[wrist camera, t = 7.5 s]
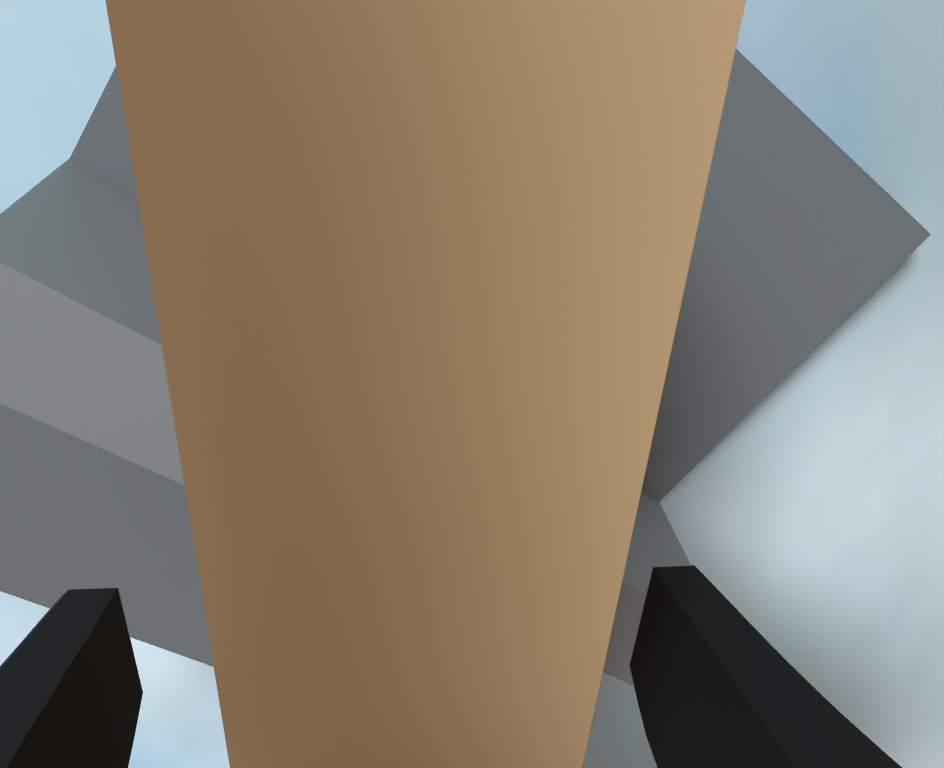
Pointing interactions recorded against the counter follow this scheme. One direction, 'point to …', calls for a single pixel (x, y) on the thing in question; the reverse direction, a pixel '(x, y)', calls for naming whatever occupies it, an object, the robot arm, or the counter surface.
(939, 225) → the counter surface
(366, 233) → the wooden block
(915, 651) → the counter surface
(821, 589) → the counter surface
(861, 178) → the stand
